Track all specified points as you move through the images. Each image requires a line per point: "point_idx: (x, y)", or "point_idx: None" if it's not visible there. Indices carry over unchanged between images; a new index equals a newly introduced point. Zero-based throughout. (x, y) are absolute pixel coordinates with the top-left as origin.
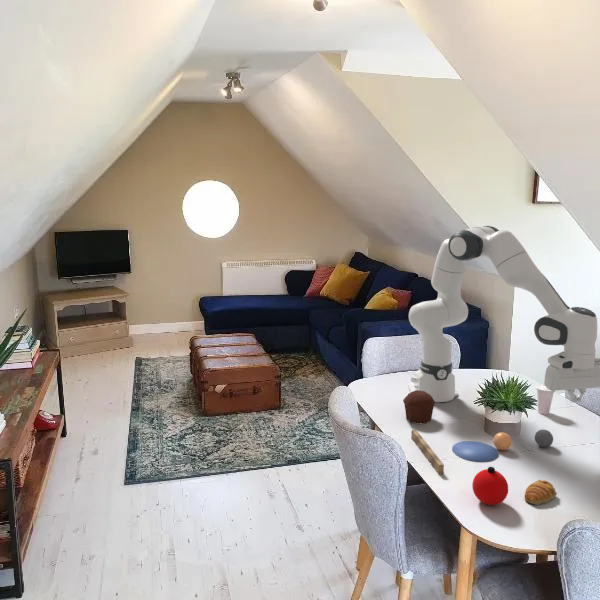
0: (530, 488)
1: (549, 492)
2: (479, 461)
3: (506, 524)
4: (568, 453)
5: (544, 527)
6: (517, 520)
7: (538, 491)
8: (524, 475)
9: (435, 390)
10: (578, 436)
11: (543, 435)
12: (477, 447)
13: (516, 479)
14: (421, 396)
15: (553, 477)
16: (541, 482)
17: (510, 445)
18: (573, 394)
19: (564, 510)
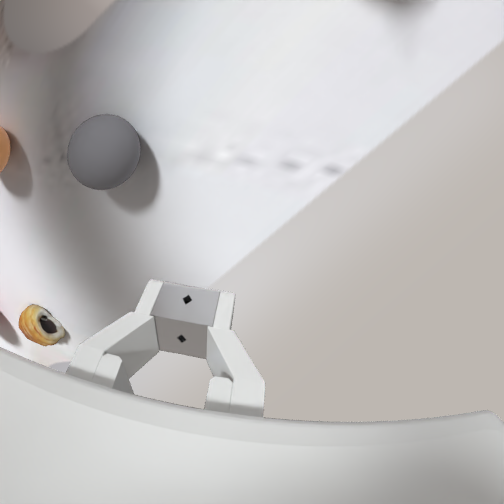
0: (22, 326)
1: (46, 345)
2: None
3: (4, 337)
4: (178, 208)
5: (40, 357)
6: (14, 338)
7: (31, 340)
8: (27, 265)
9: None
10: (332, 101)
11: (79, 181)
12: None
13: (14, 271)
14: None
15: (78, 291)
16: (36, 331)
17: (1, 170)
18: (131, 371)
19: (70, 352)
